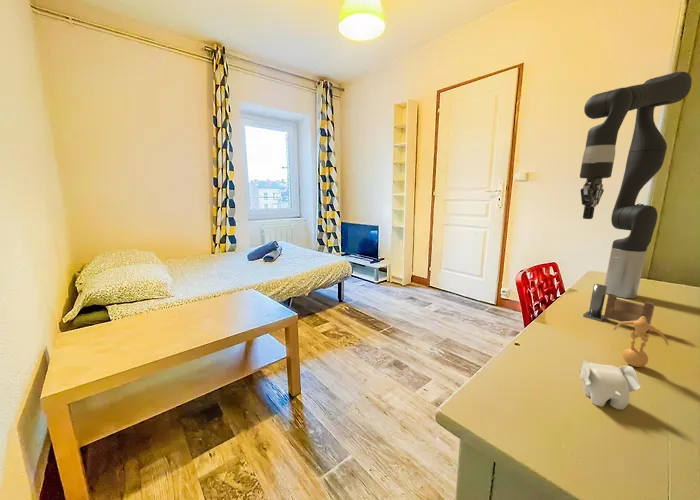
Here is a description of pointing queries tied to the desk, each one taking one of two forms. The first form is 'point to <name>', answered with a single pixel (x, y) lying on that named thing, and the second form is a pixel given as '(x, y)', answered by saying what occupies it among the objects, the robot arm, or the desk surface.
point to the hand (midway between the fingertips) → (587, 218)
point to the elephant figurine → (609, 383)
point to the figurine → (638, 355)
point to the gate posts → (601, 304)
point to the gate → (627, 309)
